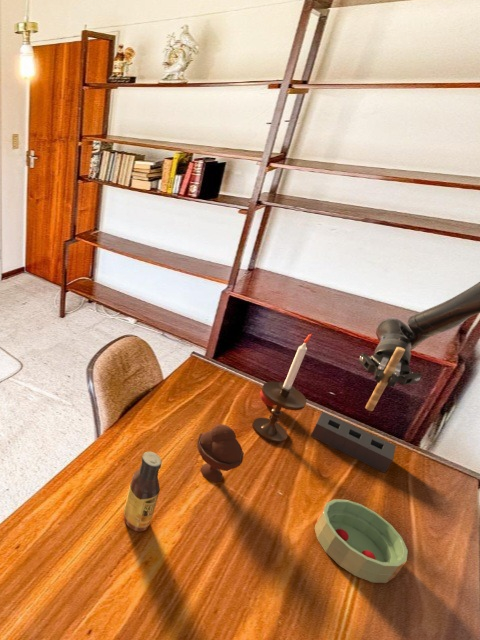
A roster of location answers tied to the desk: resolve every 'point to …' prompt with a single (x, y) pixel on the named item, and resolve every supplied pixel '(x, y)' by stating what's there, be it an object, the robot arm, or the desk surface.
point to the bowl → (361, 541)
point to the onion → (265, 400)
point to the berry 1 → (342, 534)
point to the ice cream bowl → (219, 452)
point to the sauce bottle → (143, 493)
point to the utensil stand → (354, 442)
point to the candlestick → (281, 401)
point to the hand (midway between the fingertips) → (384, 381)
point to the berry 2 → (368, 554)
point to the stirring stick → (385, 378)
